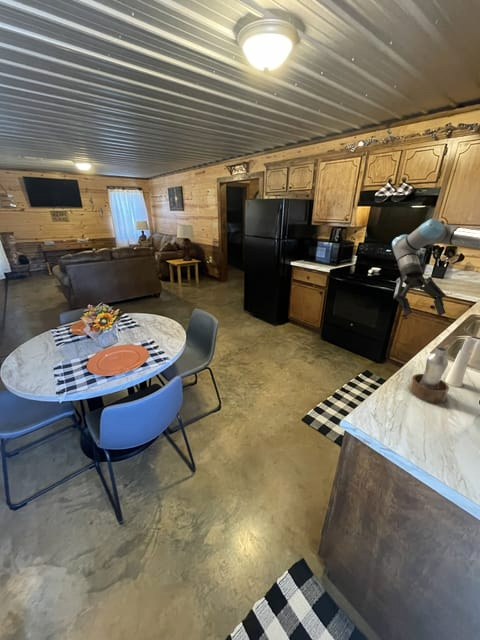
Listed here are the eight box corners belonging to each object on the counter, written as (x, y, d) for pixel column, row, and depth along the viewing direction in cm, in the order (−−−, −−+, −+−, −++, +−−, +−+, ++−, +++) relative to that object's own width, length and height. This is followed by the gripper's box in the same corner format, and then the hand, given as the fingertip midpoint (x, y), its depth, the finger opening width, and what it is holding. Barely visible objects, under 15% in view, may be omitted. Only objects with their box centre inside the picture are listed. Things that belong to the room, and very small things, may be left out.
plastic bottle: (412, 388, 106) (426, 345, 99) (428, 388, 107) (443, 344, 99) (423, 399, 100) (439, 353, 93) (440, 398, 101) (457, 353, 93)
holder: (444, 394, 104) (449, 381, 102) (442, 410, 96) (448, 395, 94) (410, 383, 111) (415, 370, 109) (406, 397, 103) (410, 383, 100)
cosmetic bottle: (442, 379, 114) (459, 334, 106) (460, 384, 112) (478, 337, 103) (444, 386, 110) (461, 339, 101) (462, 391, 107) (482, 343, 98)
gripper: (432, 273, 115) (448, 317, 106) (376, 273, 113) (389, 318, 105) (445, 263, 108) (463, 310, 99) (386, 263, 106) (400, 310, 98)
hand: (425, 314), depth 102 cm, fingers open, 13 cm apart
